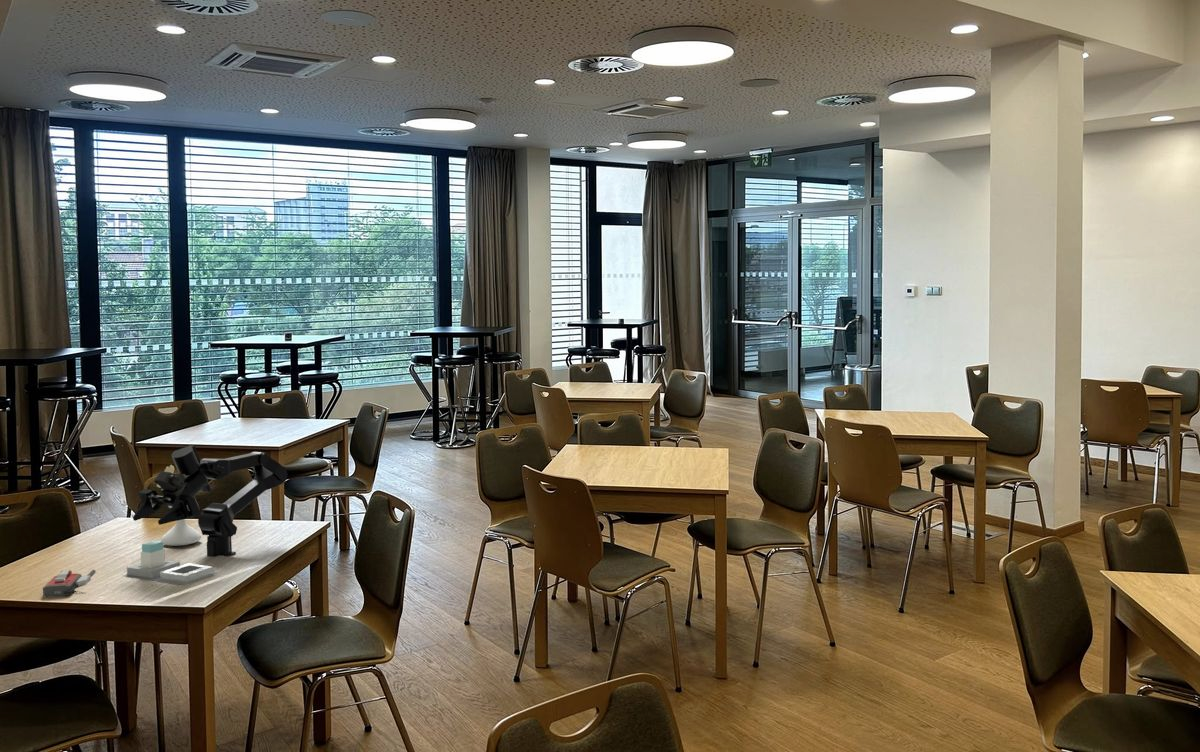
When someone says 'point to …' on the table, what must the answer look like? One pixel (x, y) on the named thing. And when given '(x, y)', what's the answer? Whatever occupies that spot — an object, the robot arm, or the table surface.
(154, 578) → the station board
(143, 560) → the plug
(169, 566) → the grey square socket frame
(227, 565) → the table surface
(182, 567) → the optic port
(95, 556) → the table surface
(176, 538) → the flower in vase
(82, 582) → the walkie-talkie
